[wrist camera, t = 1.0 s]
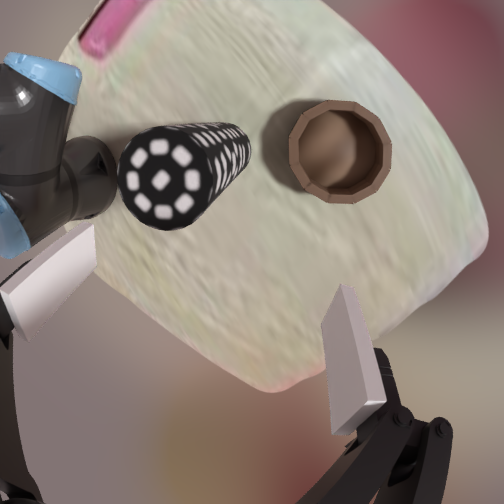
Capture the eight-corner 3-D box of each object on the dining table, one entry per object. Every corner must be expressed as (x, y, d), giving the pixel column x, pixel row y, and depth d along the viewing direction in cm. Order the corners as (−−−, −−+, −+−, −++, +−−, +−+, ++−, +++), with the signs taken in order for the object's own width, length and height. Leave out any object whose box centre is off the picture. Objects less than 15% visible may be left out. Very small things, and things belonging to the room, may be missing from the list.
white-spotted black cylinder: (222, 189, 40) (167, 249, 22) (184, 150, 38) (101, 182, 20) (263, 151, 36) (237, 181, 19) (222, 110, 34) (158, 104, 17)
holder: (272, 165, 37) (269, 170, 33) (317, 85, 31) (320, 81, 27) (351, 211, 38) (357, 221, 35) (396, 137, 32) (408, 140, 28)
